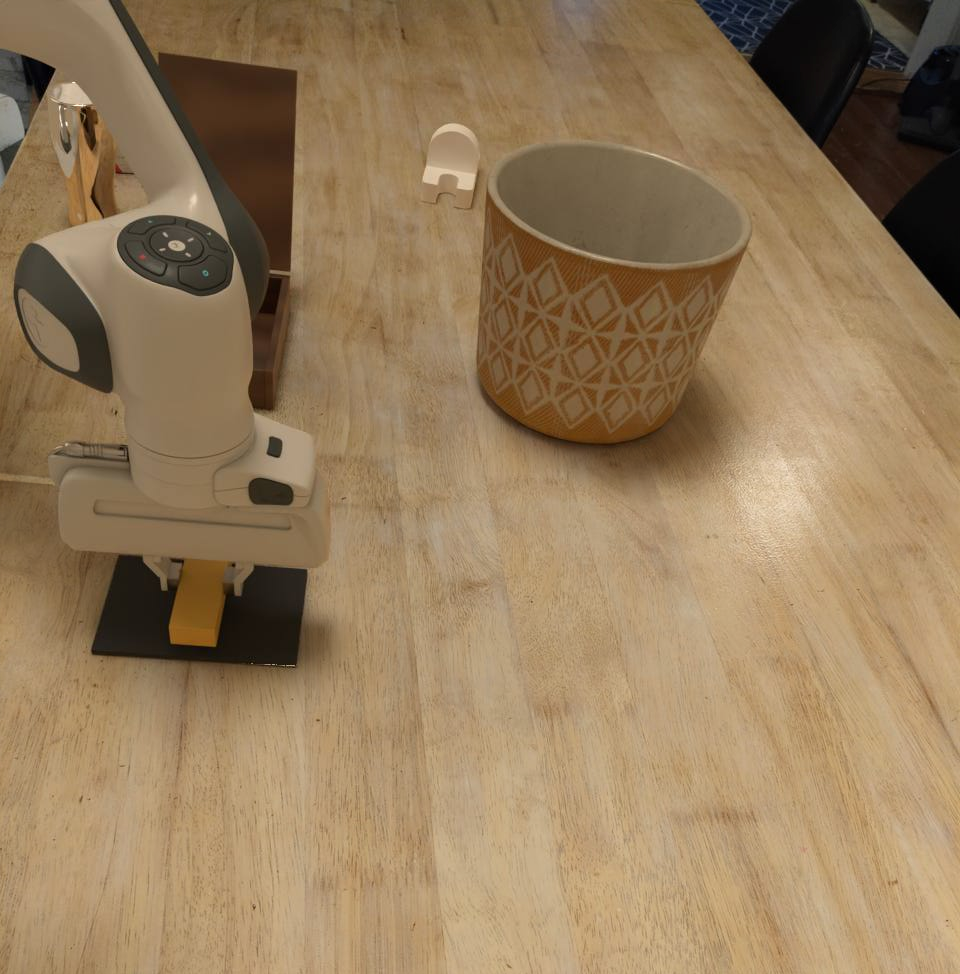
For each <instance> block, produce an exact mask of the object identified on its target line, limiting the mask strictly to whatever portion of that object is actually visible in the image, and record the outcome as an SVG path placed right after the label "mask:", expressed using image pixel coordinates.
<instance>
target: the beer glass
mask: <svg viewBox="0 0 960 974" xmlns="http://www.w3.org/2000/svg"><path fill="white" fill-rule="evenodd" d="M45 93H46V98H47V113H48V123H49V131H50V137H51V141H52V146H53V150H54V153H55V157H56V160H57V163H58V166H59V169H60V172H61V175H62V177H63V180H64V184H65V186H66V191H67V199H68V215H67V217H68V224H69V226H70V228H71V227H75V226H78V225H81V224H84V223H88V222H91V221H94V220H95V221H98V220H102V219H105V218H108V217H111V216H114V215H118V214H121V213H120V210H119V206H118V202H117V199H116V191H115V182H116V172H115V167H116V143H115V141H114V139H113V138H112V136H111V134H110V133H109V131H108V129H107V127H106V126H105V124H104V122H103V121H102V119H101V117H100V116H99V114H98V112H97V111H96V109H95V107H94V106H93V104H92V102H91V101H90V99H89V98H88V97H87V95H86V94H85V93H84V92H83V90H82V89H81V88H80V87H79V86H78V85H77V84H76V83H75V82H74V81H63V82H59V83H55V84H53V85H51V86H49V87H48V88H47V89H46V92H45Z"/></svg>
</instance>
